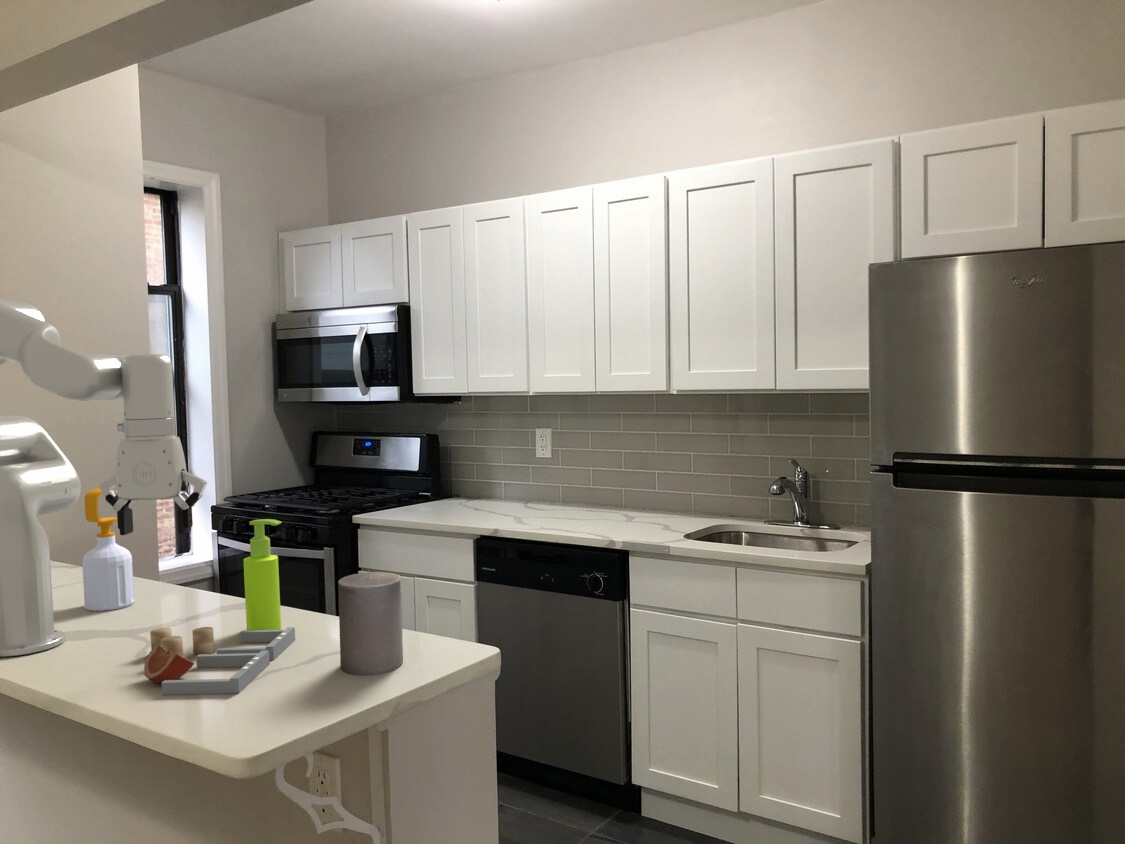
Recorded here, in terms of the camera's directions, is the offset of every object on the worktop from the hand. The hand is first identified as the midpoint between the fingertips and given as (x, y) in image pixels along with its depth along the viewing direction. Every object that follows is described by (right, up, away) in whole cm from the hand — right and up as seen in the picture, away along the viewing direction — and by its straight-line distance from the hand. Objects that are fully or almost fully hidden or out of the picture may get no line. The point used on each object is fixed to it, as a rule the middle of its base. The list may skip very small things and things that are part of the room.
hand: (155, 533), depth 150 cm
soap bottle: (-25, -19, +35) cm, 47 cm away
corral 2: (+16, -20, +2) cm, 26 cm away
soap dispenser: (+14, -19, +14) cm, 28 cm away
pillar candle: (+37, -20, -7) cm, 43 cm away
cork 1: (+1, -20, +1) cm, 20 cm away
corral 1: (+15, -21, -12) cm, 28 cm away
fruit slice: (+7, -21, -12) cm, 25 cm away
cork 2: (+4, -21, -4) cm, 21 cm away
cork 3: (+8, -20, +1) cm, 21 cm away
